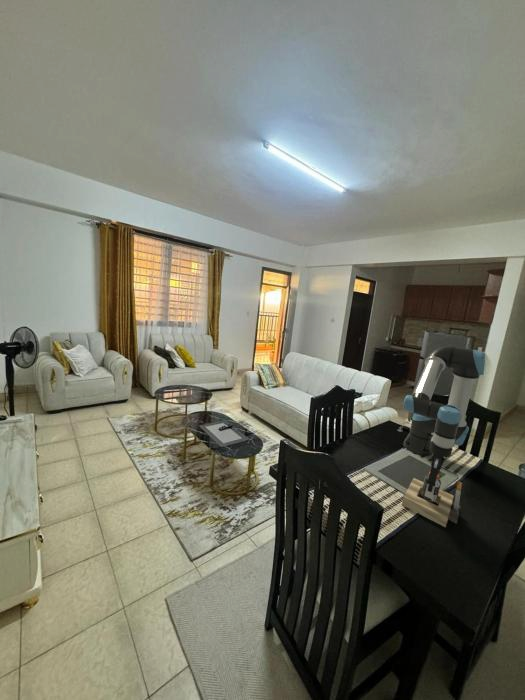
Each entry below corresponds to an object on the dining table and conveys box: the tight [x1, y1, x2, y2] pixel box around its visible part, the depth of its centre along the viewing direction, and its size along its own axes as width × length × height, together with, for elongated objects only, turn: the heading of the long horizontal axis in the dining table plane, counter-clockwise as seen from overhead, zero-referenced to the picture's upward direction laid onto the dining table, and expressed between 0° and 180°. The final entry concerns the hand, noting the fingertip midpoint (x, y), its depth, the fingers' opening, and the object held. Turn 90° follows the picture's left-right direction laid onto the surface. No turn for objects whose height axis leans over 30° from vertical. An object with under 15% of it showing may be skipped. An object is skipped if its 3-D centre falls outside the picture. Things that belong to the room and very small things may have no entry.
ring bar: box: [453, 480, 463, 513], centre depth 113 cm, size 4×1×14 cm, turn 140°
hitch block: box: [401, 477, 461, 528], centre depth 119 cm, size 18×19×4 cm
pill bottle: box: [421, 470, 442, 502], centre depth 118 cm, size 6×6×11 cm
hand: (429, 493), depth 119 cm, fingers closed on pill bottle, 6 cm apart
